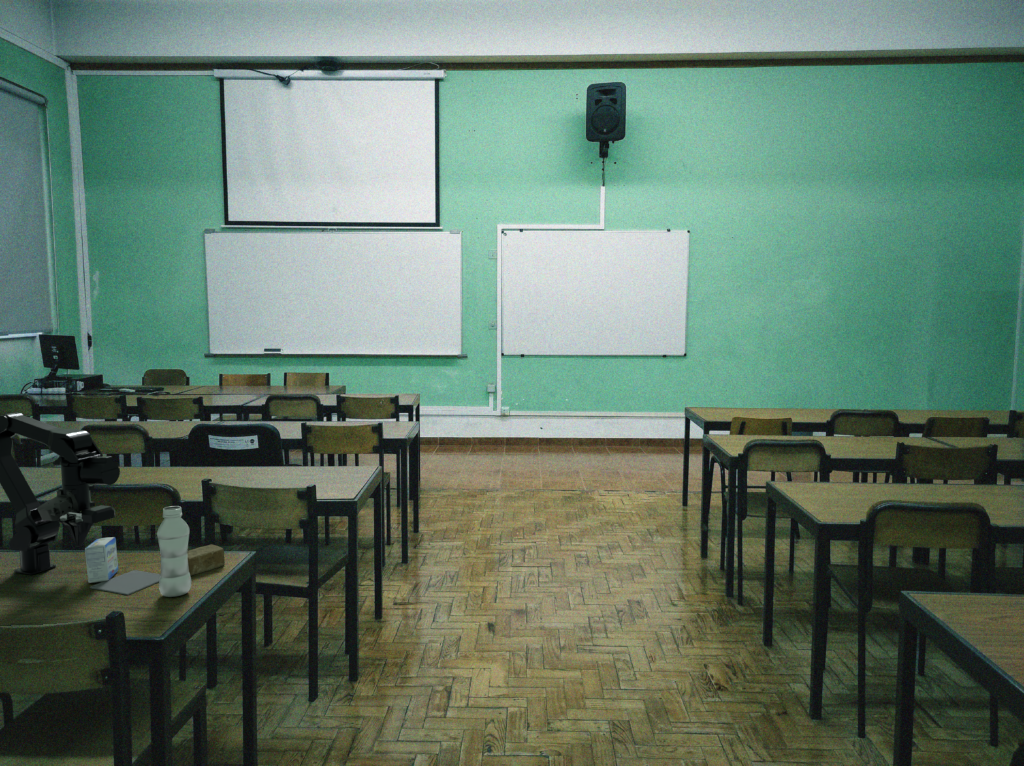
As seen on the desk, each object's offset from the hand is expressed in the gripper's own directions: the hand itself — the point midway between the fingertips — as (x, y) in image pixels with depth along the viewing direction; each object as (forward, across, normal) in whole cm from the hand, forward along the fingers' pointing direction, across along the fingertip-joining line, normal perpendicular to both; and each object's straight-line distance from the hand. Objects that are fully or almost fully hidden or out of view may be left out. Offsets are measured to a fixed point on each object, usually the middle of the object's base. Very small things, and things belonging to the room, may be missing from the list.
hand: (79, 545), depth 171 cm
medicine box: (+7, +8, 0) cm, 10 cm away
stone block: (+8, +25, +13) cm, 29 cm away
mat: (+7, +17, 0) cm, 18 cm away
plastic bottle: (+7, +33, -2) cm, 34 cm away
